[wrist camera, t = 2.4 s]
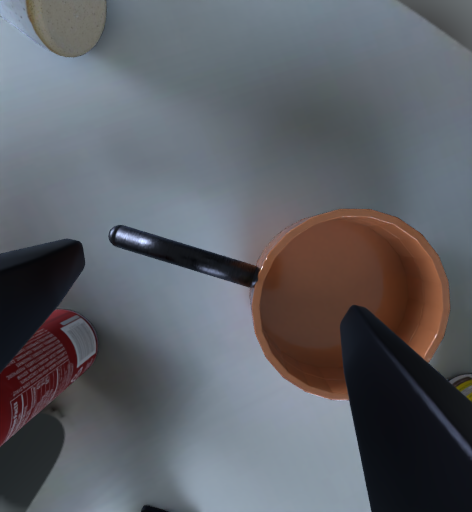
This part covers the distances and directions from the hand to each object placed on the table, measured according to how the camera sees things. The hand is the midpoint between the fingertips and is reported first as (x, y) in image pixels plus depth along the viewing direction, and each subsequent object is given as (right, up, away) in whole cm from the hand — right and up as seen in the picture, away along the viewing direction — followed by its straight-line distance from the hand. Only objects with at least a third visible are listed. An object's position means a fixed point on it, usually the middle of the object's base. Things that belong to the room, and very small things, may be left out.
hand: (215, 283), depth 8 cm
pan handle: (-3, +1, +13) cm, 13 cm away
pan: (+10, -3, +16) cm, 19 cm away
